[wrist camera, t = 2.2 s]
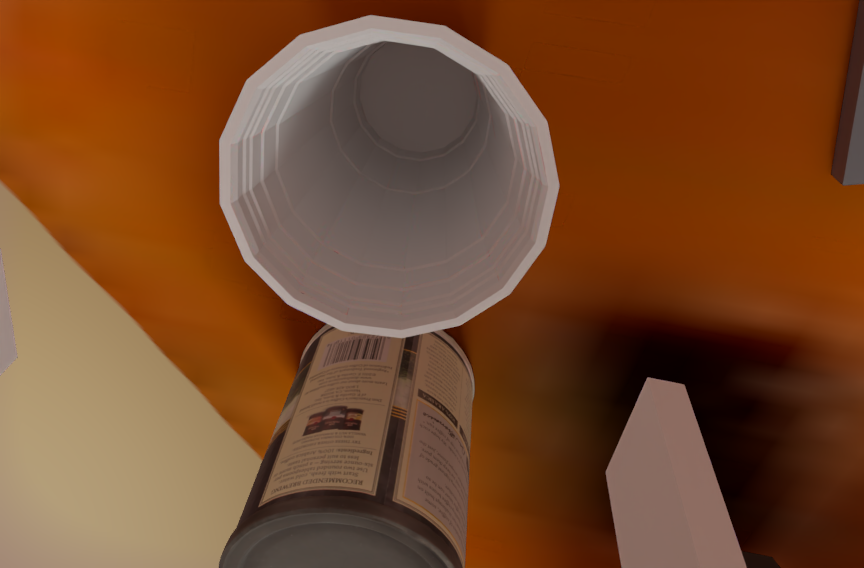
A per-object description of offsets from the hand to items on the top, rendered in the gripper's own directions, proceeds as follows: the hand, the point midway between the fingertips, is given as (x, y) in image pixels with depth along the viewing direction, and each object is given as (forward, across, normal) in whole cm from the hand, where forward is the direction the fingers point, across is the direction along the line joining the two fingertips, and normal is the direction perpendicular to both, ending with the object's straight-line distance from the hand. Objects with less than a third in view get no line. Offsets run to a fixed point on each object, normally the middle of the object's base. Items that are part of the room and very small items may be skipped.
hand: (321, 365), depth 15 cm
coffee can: (+21, -1, +17) cm, 27 cm away
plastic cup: (+21, 0, 0) cm, 21 cm away
